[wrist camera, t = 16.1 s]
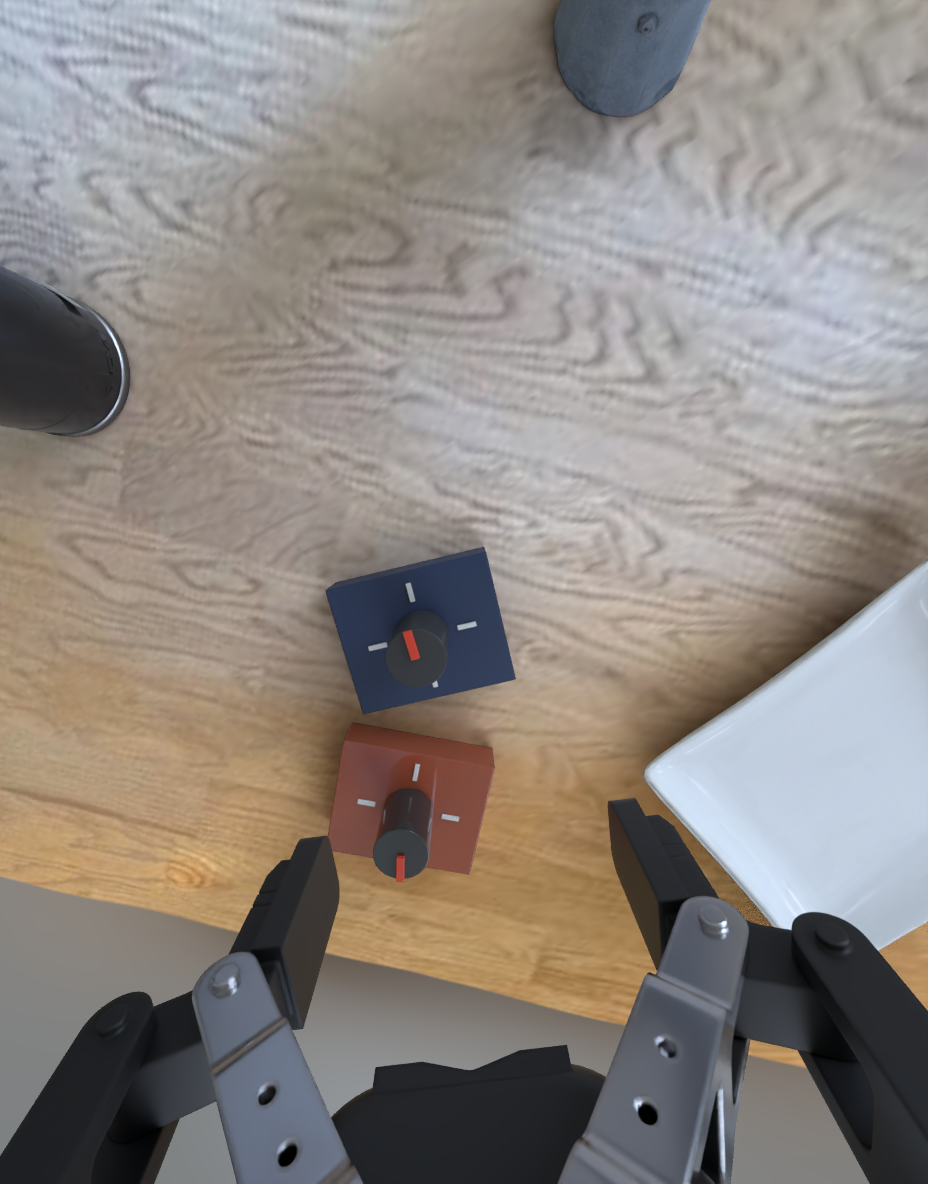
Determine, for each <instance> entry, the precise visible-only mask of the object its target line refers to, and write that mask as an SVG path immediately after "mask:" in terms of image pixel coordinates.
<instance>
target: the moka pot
mask: <svg viewBox="0 0 928 1184" xmlns="http://www.w3.org/2000/svg"><path fill="white" fill-rule="evenodd" d="M709 3H710V0H561V3H560V5H559V8H558V11H557V13H556V17H555V20H554V38H555V47H556V52H557V58H558V67H559V70H560V72H561V75H562V77H563V78H564V80H565V82H566V85H567V86H568V88H569V89H570V90H571V91H572V92H573V93H574V95H575V96H576V97H577V99H578V100H579V101H581V103H582V104H583V105H584V106H586V107H587V108H588V109H590V110H592V111H594V112H597V113H600V114H603V115H608V116H615V117H618V116H633V115H636V114H638V113H640V112H642V111H644V110H646V109H648V108H649V107H651V106H652V105H654V104H655V103H657V102H658V101H659V100H660V99H661V98H663V97H664V96H665V95H666V94H667V93H668V92H670V91H671V90H672V89H673V87H674V85H675V83H676V82H677V80H678V78H679V76H680V73H681V71H682V69H683V67H684V65H685V62H686V60H687V58H688V55H689V53H690V51H691V49H692V46H693V44H694V42H695V39H696V36H697V34H698V31H699V29H700V26H701V24H702V21H703V19H704V16H705V13H706V11H707V8H708V6H709Z"/></svg>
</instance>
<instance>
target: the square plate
mask: <svg viewBox="0 0 928 1184" xmlns="http://www.w3.org/2000/svg"><path fill="white" fill-rule="evenodd" d="M643 776H644V779H645V781H646V782H647V784H648V785H649V786H650V788H651V789H652V790H653V791H654V792H655V794H656V795H657V796H658V797H659V798H660V799H661V800H662V802H663V803H664V804H665V805H666V806H667V807H668V808H669V809H670V811H671V812H672V813H673V814H674V815H675V816H676V817H677V818H678V819H679V820H680V821H681V822H682V824H683V825H684V826H685V827H686V828H687V829H688V830H689V831H690V832H691V833H692V835H693V836H694V837H695V838H696V839H697V840H698V841H699V842H700V843H701V844H702V845H703V847H704V848H705V849H706V850H707V851H708V852H709V853H710V854H711V855H712V856H713V858H714V859H715V860H716V861H717V862H718V863H719V864H720V865H721V866H722V867H723V869H724V870H725V871H726V872H727V873H728V874H729V875H730V876H731V878H732V879H733V880H734V881H735V882H736V883H737V884H738V886H739V887H740V888H741V889H742V890H743V891H744V893H745V894H746V895H747V896H748V897H749V898H750V900H751V901H752V902H753V903H754V904H755V905H756V907H757V908H758V909H759V910H760V911H761V913H762V914H763V915H764V916H765V917H766V919H767V920H768V921H769V922H770V924H771V925H772V926H773V927H776V928H783V929H789V930H791V927H792V923H793V921H794V919H795V918H796V917H797V916H799V915H800V914H803V913H807V912H821V913H826V914H830V915H833V916H836V917H839V918H841V919H843V920H845V921H847V922H849V923H850V924H852V925H853V926H855V927H856V928H857V929H859V930H860V931H861V932H862V933H863V934H864V935H865V936H866V937H867V938H868V939H869V941H870V942H871V943H872V944H873V945H874V947H875V948H876V949H877V950H880V949H882V948H883V947H885V946H887V945H888V944H890V943H892V942H894V941H895V940H897V939H899V938H900V937H902V936H904V935H905V934H907V933H909V932H911V931H912V930H914V929H916V928H917V927H919V926H921V925H922V924H924V923H926V922H928V559H927V560H926V561H924V562H923V563H922V564H920V565H919V566H917V567H916V568H915V569H913V570H912V571H911V572H909V573H908V574H907V575H905V576H904V577H903V578H902V579H901V580H899V581H898V582H897V583H895V584H894V585H893V586H892V587H890V588H889V589H888V590H886V591H885V592H884V593H882V594H881V595H880V596H878V597H877V598H876V599H875V600H873V601H872V602H871V603H869V604H868V605H867V606H865V607H864V608H863V609H862V610H860V611H859V612H858V613H857V614H855V615H854V616H853V617H852V618H850V619H849V620H848V621H847V622H845V623H844V624H843V625H842V626H840V627H839V628H838V629H837V630H835V631H834V632H833V633H831V634H830V635H829V636H827V637H826V638H825V639H823V640H822V641H821V642H820V643H818V644H817V645H816V646H814V647H813V648H812V649H810V650H809V651H808V652H806V653H805V654H804V655H802V656H801V657H800V658H798V659H797V660H796V661H794V662H793V663H792V664H790V665H789V666H788V667H786V668H785V669H784V670H782V671H781V672H780V673H778V674H777V675H775V676H774V677H773V678H771V679H770V680H768V681H767V682H766V683H764V684H763V685H761V686H760V687H759V688H757V689H756V690H754V691H753V692H752V693H750V694H749V695H747V696H746V697H744V698H743V699H741V700H740V701H738V702H737V703H735V704H734V705H732V706H731V707H729V708H728V709H726V710H725V711H723V712H722V713H720V714H719V715H717V716H716V717H714V718H713V719H711V720H710V721H708V722H707V723H705V724H704V725H702V726H701V727H699V728H698V729H696V730H694V731H693V732H691V733H690V734H688V735H687V736H685V737H684V738H683V739H681V740H680V741H679V742H677V743H676V744H674V745H673V746H672V747H670V748H669V749H667V750H666V751H665V752H663V753H662V754H660V755H659V756H658V757H656V758H655V759H654V760H653V761H652V762H651V763H649V764H648V765H647V766H646V768H645V769H644V771H643Z"/></svg>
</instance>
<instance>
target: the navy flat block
mask: <svg viewBox="0 0 928 1184" xmlns="http://www.w3.org/2000/svg"><path fill="white" fill-rule="evenodd" d="M326 594H327V597H328V601H329V604H330V607H331V611H332V614H333V617H334V620H335V624H336V627H337V630H338V633H339V637H340V640H341V643H342V647H343V650H344V653H345V656H346V660H347V663H348V666H349V669H350V673H351V676H352V679H353V682H354V686H355V689H356V692H357V696H358V699H359V702H360V705H361V709H362V712H363V714H366V713H371V712H375V711H379V710H384V709H388V708H392V707H397V706H401V705H406V704H410V703H414V702H419V701H423V700H428V699H432V698H436V697H441V696H445V695H449V694H454V693H458V692H463V691H467V690H471V689H476V688H480V687H484V686H489V685H493V684H498V683H502V682H506V681H511V680H515V679H516V678H515V674H514V670H513V665H512V661H511V657H510V652H509V648H508V644H507V640H506V635H505V631H504V627H503V623H502V618H501V614H500V610H499V606H498V601H497V597H496V593H495V589H494V584H493V580H492V576H491V572H490V567H489V563H488V559H487V555H486V551H485V548H484V547H481V548H477V549H473V550H469V551H465V552H461V553H457V554H452V555H448V556H444V557H440V558H436V559H432V560H428V561H423V562H419V563H415V564H411V565H407V566H403V567H399V568H394V569H390V570H386V571H382V572H378V573H374V574H370V575H365V576H361V577H357V578H353V579H349V580H345V581H341V582H337V583H335V584H333V585H332V586H331V587H330V588H328V589H327V590H326ZM417 610H426V611H430V612H433V613H435V614H437V615H438V616H439V617H441V618H442V619H443V621H444V622H445V623H446V625H447V628H448V631H449V646H448V657H447V665H446V668H445V670H444V673H443V674H442V676H441V677H440V678H439V679H438V680H437V681H435V682H434V683H432V684H430V685H428V686H425V687H418V688H417V687H409V686H405V685H403V684H401V683H399V682H398V681H397V680H395V679H394V678H393V677H392V675H391V674H390V672H389V671H388V669H387V666H386V661H385V654H386V649H387V646H388V644H389V642H390V640H391V638H392V636H393V634H394V632H395V629H396V627H397V625H398V623H399V622H400V620H401V619H402V618H403V617H404V616H405V615H407V614H409V613H411V612H413V611H417Z"/></svg>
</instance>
